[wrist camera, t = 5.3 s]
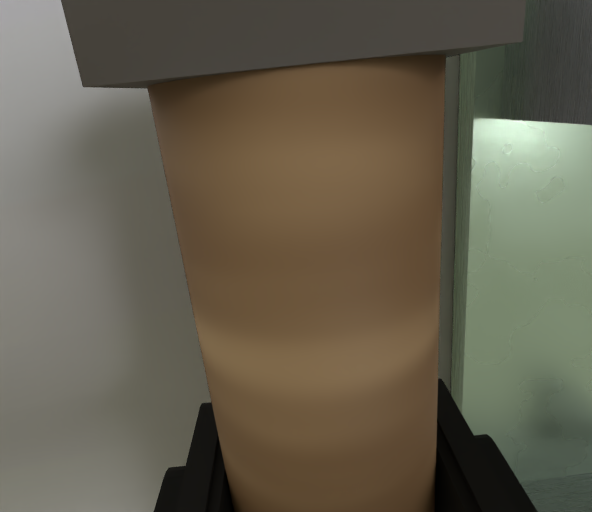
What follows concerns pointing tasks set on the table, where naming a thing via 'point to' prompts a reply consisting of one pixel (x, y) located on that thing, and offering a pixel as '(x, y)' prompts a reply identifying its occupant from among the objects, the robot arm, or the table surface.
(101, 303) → the table surface
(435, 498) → the robot arm
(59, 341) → the table surface
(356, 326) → the rail
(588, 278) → the bracket board
